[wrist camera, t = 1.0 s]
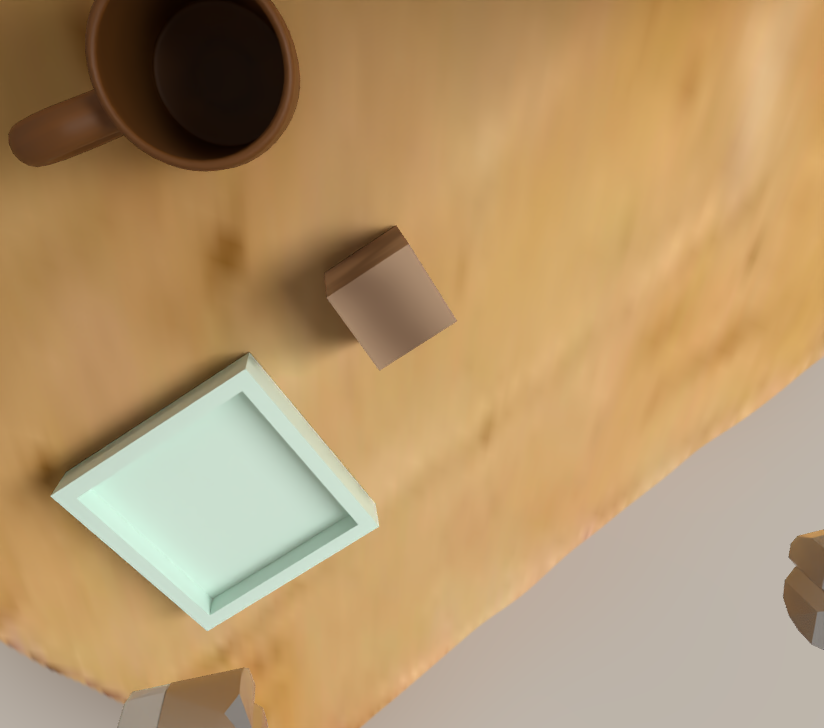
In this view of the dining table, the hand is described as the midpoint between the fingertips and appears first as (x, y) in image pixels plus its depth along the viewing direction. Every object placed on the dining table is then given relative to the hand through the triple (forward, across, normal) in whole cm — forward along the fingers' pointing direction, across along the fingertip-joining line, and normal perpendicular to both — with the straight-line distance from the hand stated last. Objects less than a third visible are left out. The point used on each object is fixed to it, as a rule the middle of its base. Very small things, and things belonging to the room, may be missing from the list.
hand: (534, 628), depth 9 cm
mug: (+29, +7, -9) cm, 31 cm away
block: (+29, -1, +3) cm, 29 cm away
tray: (+29, +11, +15) cm, 34 cm away
